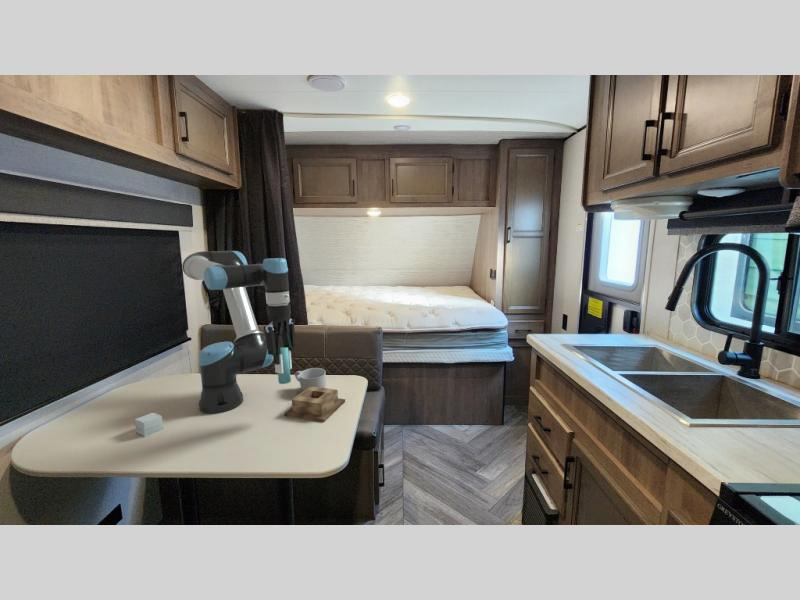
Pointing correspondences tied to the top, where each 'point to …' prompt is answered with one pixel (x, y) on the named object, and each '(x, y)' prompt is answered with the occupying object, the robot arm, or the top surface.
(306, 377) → the teacup
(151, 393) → the top surface
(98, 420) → the top surface
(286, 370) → the peg
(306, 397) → the socket
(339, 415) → the top surface
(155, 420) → the small box
